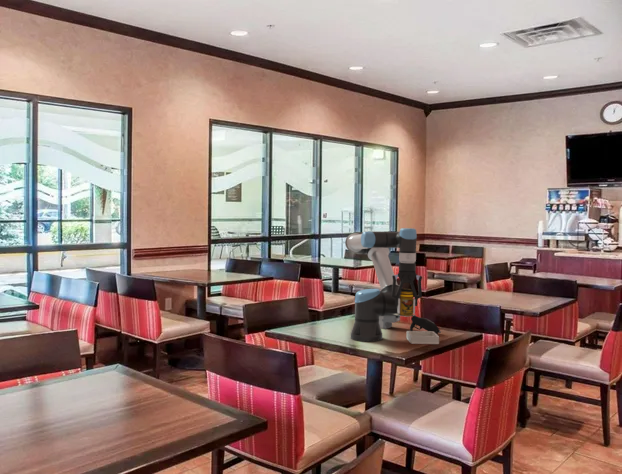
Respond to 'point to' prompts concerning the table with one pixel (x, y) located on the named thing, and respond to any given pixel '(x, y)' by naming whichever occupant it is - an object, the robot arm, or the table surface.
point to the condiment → (406, 303)
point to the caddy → (422, 337)
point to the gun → (424, 324)
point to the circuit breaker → (387, 321)
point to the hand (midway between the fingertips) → (406, 312)
